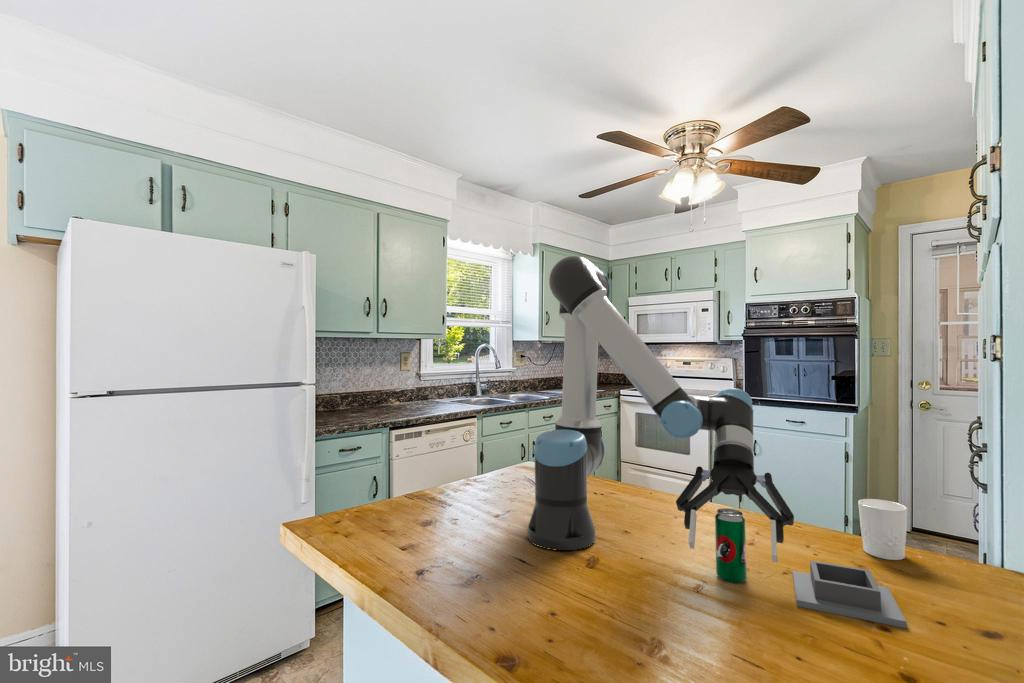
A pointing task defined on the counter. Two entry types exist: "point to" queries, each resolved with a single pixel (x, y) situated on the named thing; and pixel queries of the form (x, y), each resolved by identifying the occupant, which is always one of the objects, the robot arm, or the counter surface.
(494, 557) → the counter surface
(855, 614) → the mount
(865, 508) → the white cup
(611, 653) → the counter surface
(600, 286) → the robot arm
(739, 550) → the soda can
